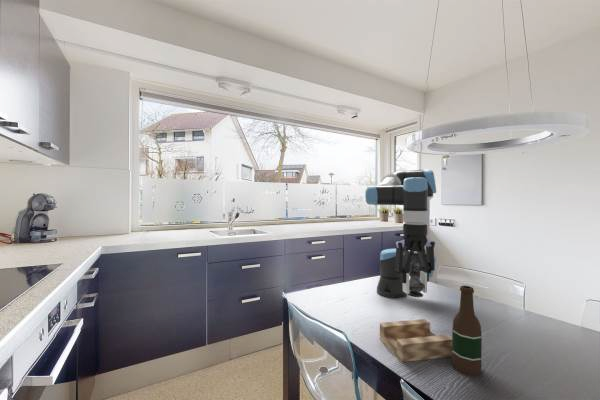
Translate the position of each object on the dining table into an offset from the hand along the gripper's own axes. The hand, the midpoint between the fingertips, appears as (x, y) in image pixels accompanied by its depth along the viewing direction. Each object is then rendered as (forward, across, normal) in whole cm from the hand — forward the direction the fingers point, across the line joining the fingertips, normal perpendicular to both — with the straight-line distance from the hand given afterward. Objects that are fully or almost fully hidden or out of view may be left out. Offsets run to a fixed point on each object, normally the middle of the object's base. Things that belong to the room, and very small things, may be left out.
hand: (414, 291), depth 90 cm
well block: (+19, 0, 0) cm, 19 cm away
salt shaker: (+1, 0, 0) cm, 1 cm away
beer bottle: (+19, -8, +13) cm, 24 cm away
